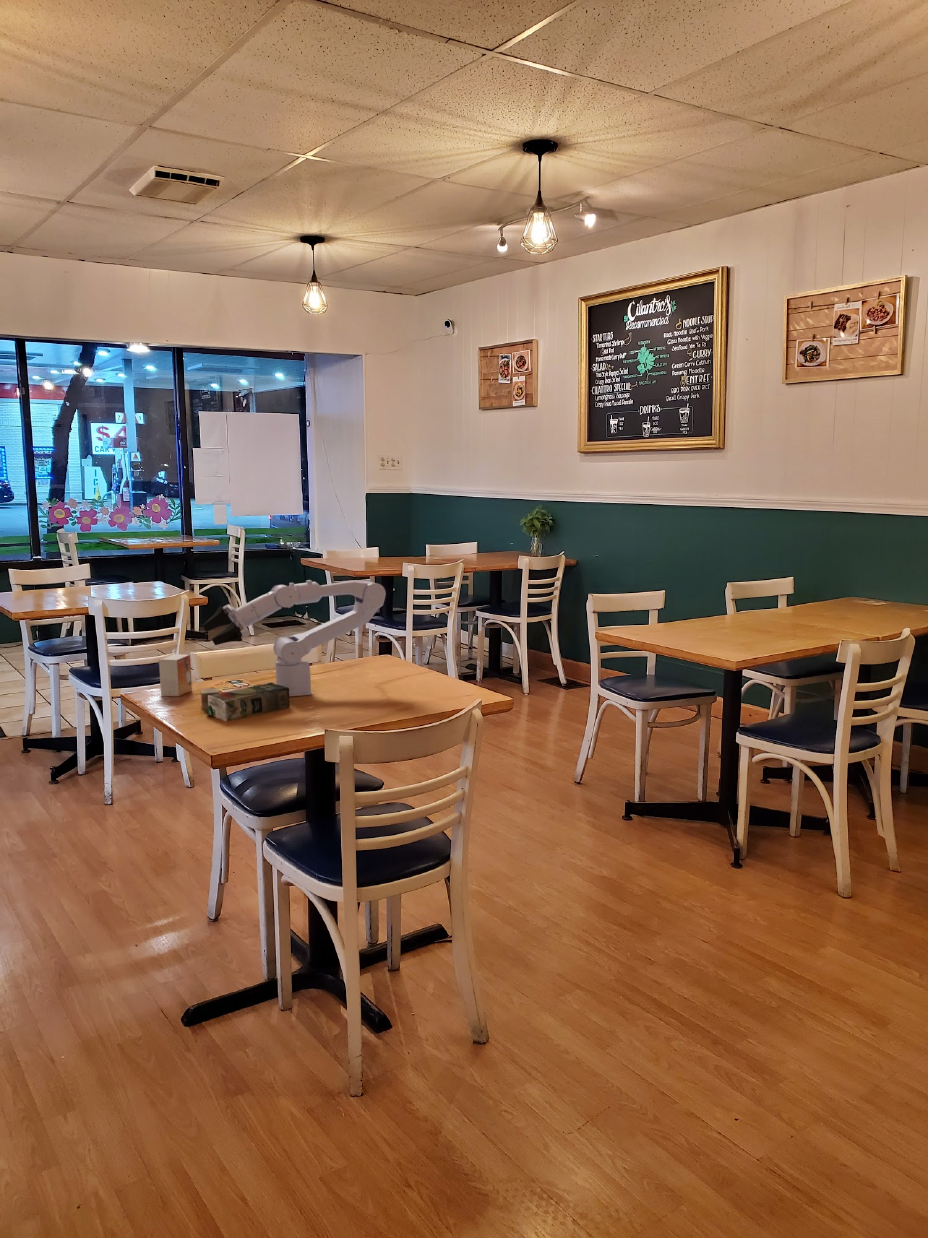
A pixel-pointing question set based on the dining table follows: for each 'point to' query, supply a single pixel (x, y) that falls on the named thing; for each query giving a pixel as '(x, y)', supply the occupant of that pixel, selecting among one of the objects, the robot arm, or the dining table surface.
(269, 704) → the juice carton
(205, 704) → the greyish beige block
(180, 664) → the small box
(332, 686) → the dining table surface
